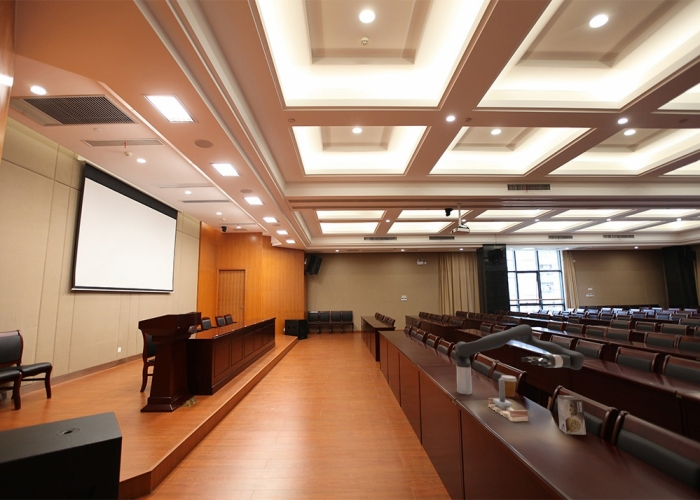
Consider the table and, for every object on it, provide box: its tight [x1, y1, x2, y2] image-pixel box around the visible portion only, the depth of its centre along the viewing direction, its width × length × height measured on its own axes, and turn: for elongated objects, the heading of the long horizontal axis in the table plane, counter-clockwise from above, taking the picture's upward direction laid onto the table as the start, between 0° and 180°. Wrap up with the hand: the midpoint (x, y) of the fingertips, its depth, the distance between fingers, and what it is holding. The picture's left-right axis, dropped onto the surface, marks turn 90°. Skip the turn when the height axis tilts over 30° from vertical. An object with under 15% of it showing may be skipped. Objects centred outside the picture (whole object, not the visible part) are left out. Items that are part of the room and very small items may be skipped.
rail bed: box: [487, 397, 529, 422], centre depth 181 cm, size 22×9×5 cm, turn 8°
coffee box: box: [556, 394, 587, 436], centre depth 158 cm, size 9×6×16 cm
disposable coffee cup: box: [500, 374, 517, 398], centre depth 214 cm, size 10×10×12 cm
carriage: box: [493, 378, 514, 409], centre depth 185 cm, size 8×7×15 cm
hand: (526, 361), depth 190 cm, fingers open, 8 cm apart
